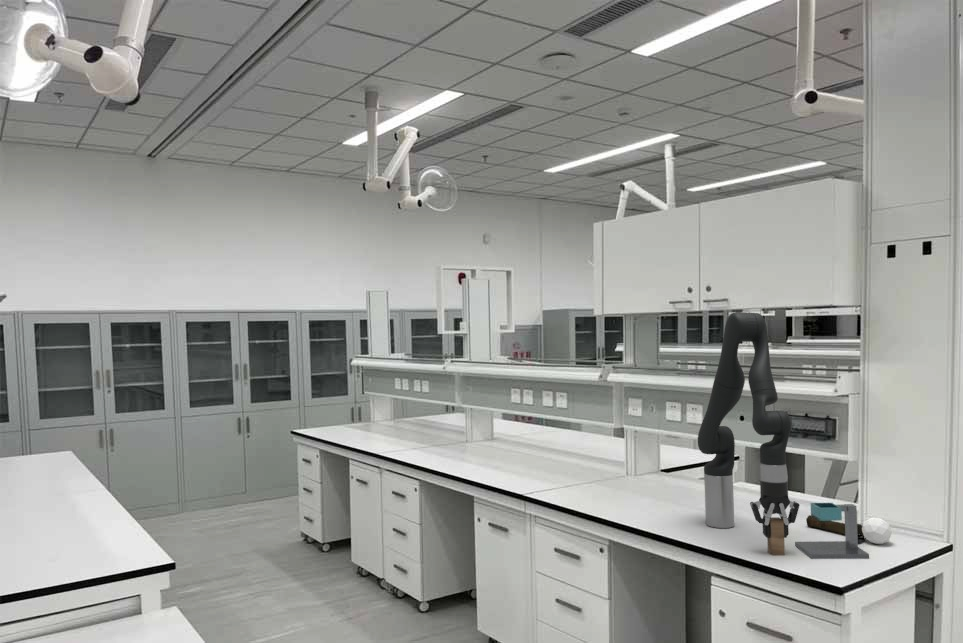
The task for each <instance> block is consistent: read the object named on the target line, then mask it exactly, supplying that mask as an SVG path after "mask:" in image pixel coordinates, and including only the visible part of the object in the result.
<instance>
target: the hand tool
mask: <svg viewBox="0 0 963 643" xmlns="http://www.w3.org/2000/svg"><path fill="white" fill-rule="evenodd" d="M805 522H806V526H807V527H808V528H812V529H813V528H816V529H821V530H826V531H829V532H835V533H839V534H842V535H845V522H839V521H820V520H818V519H816V518H815V517H813V516H812V515H811V514H810V515H808V516H807V517H806V521H805ZM862 527H863V524H860V523H857V534H860V535H863V532H862ZM863 536H864V535H863ZM864 540H867V539H866V538H865V539H864Z"/></svg>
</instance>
